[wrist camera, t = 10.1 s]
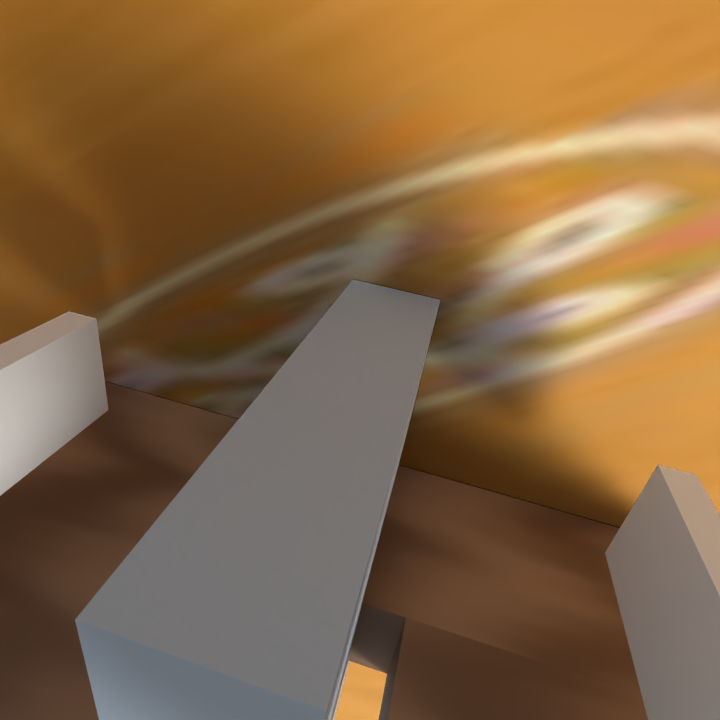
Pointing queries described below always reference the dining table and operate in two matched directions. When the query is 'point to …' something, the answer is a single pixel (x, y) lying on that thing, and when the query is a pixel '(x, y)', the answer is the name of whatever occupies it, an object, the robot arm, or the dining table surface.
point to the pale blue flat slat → (269, 535)
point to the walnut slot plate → (382, 595)
